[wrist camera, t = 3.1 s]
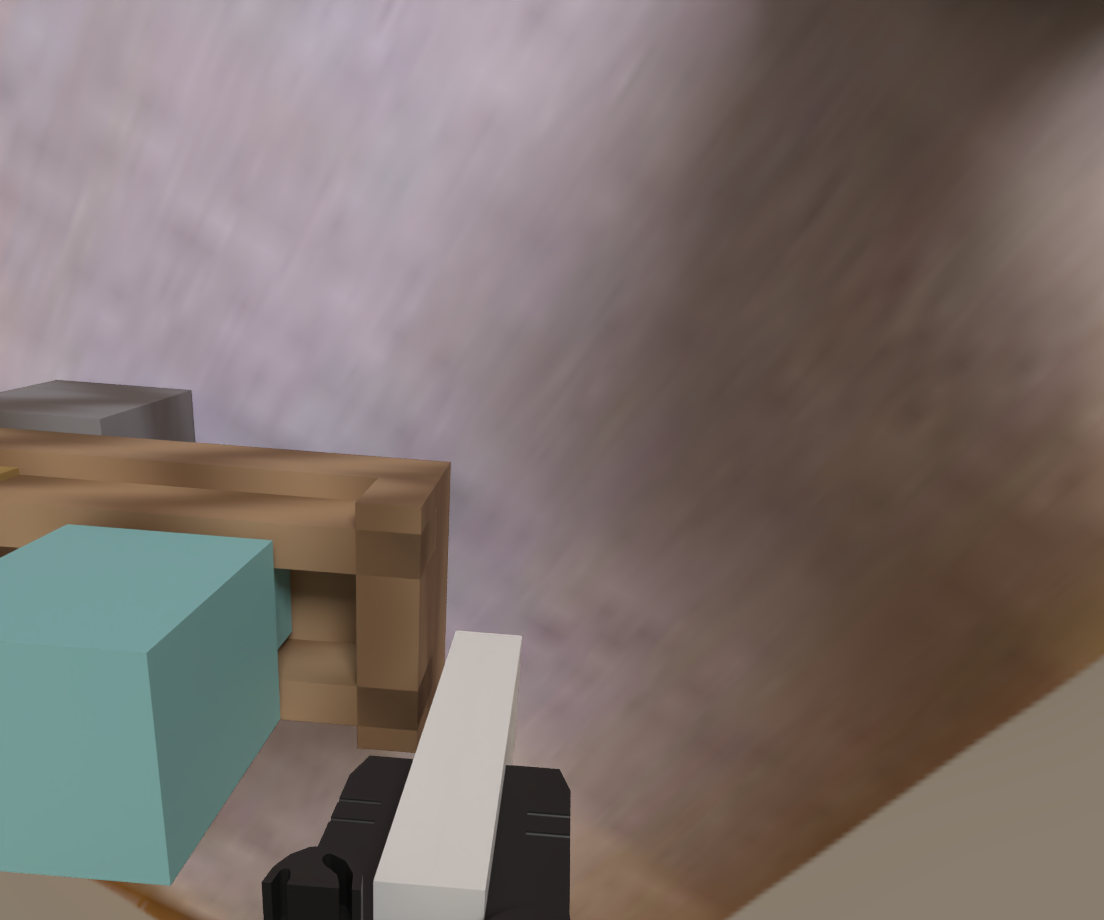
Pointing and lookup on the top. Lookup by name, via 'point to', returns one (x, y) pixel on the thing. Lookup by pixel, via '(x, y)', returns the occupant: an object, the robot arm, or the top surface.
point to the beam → (257, 536)
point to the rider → (131, 694)
